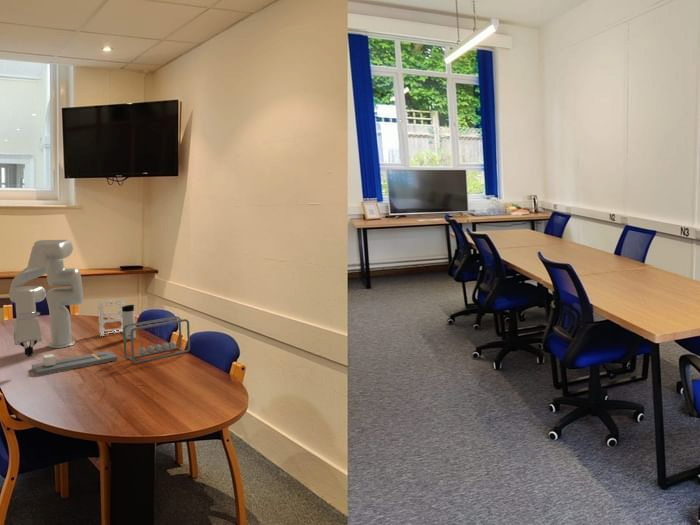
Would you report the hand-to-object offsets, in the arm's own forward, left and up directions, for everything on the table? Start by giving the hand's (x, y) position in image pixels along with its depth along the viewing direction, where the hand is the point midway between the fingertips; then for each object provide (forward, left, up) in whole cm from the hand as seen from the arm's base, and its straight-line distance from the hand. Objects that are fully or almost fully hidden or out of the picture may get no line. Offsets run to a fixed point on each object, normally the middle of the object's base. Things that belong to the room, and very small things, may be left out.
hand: (29, 355), depth 228 cm
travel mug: (-30, +54, -9) cm, 62 cm away
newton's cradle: (+12, +54, -9) cm, 56 cm away
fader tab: (0, +8, -6) cm, 10 cm away
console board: (0, +19, -8) cm, 20 cm away
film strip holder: (-52, +51, -9) cm, 73 cm away
